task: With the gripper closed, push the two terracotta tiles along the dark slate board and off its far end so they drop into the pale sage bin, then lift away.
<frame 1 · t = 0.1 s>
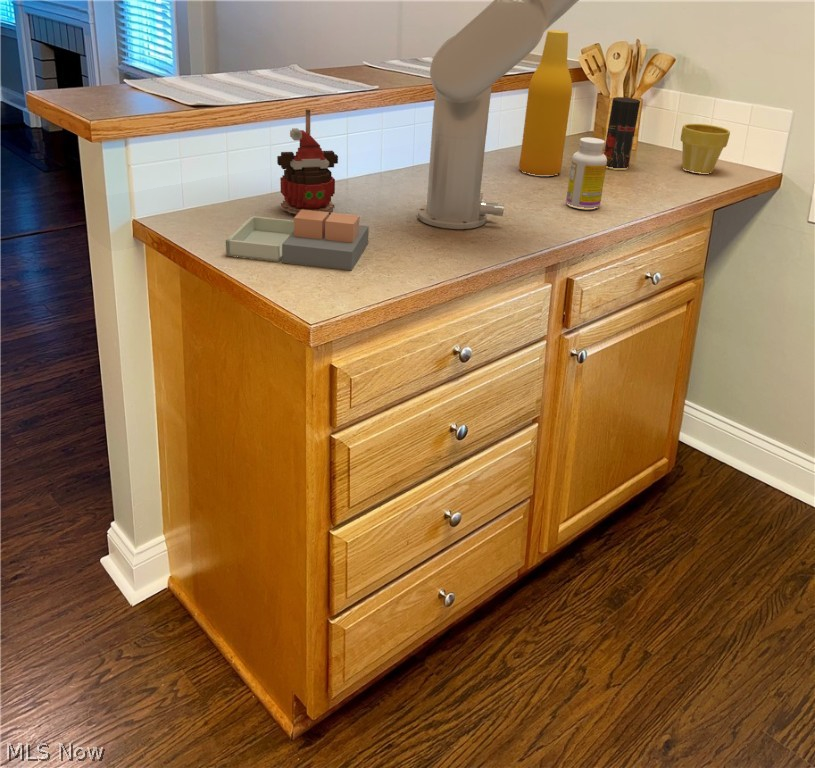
deodorant: (614, 168, 200), on the counter
supplement bottle: (582, 207, 171), on the counter
tile front: (311, 233, 139), point 3 cm above the counter, touching slate board
tile rear: (342, 236, 138), point 3 cm above the counter, touching slate board
plant pot: (697, 171, 201), on the counter
slate board: (326, 252, 140), on the counter
beer bottle: (539, 172, 192), on the counter
sage bin: (264, 245, 141), on the counter
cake: (307, 212, 159), on the counter
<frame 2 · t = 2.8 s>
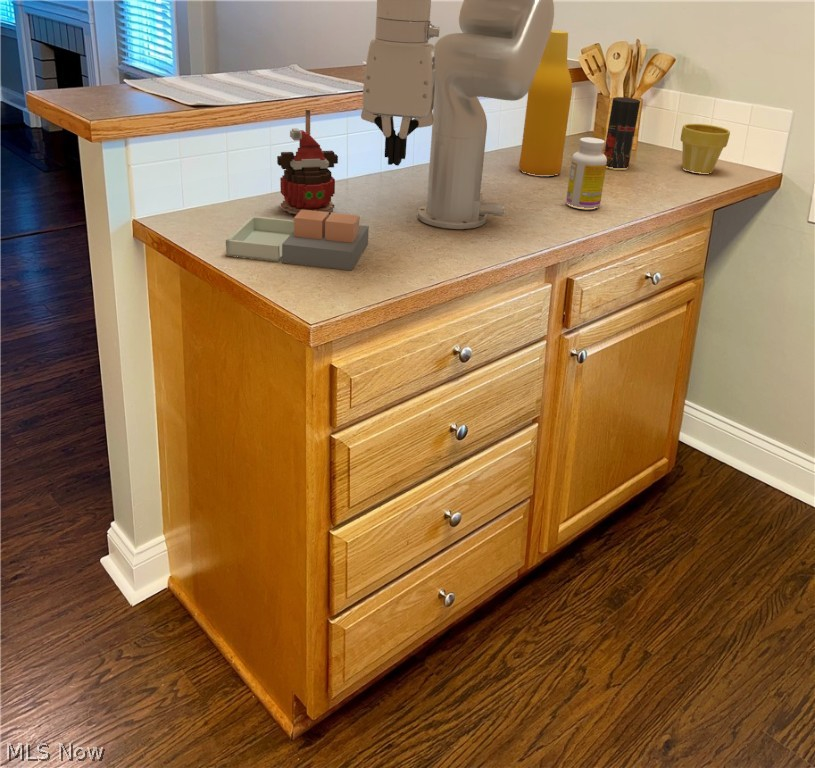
hand: (394, 162, 131), 16 cm above the counter, tool pointing down, fingers closed
nothing on the counter moved.
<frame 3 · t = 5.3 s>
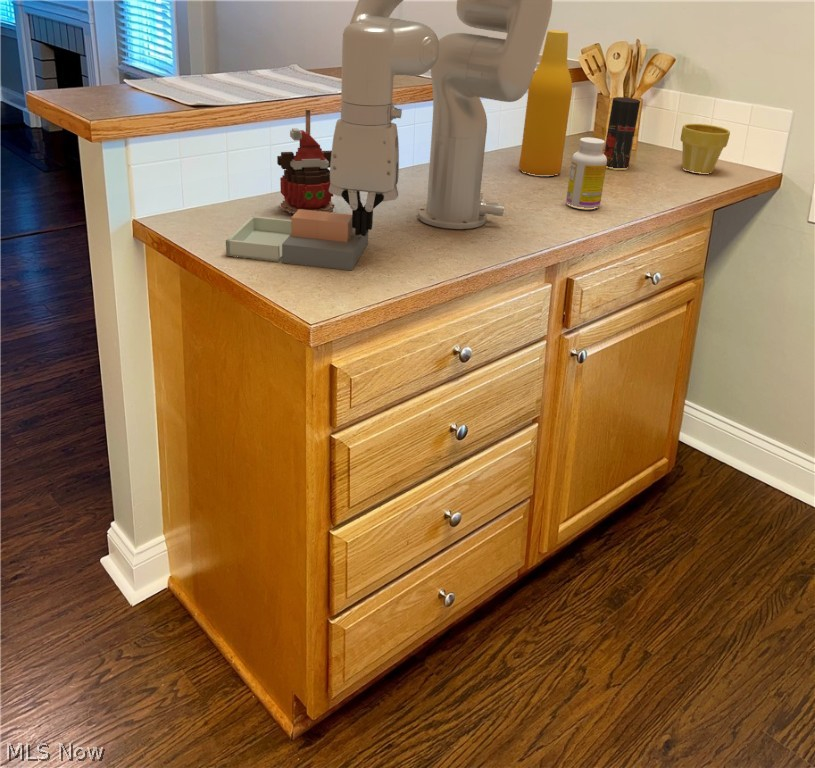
hand: (361, 232, 137), 4 cm above the counter, tool pointing down, fingers closed
tile front: (308, 232, 139), point 3 cm above the counter, touching slate board, tile rear
tile rear: (336, 236, 138), point 3 cm above the counter, touching gripper, tile front
everything else where it was.
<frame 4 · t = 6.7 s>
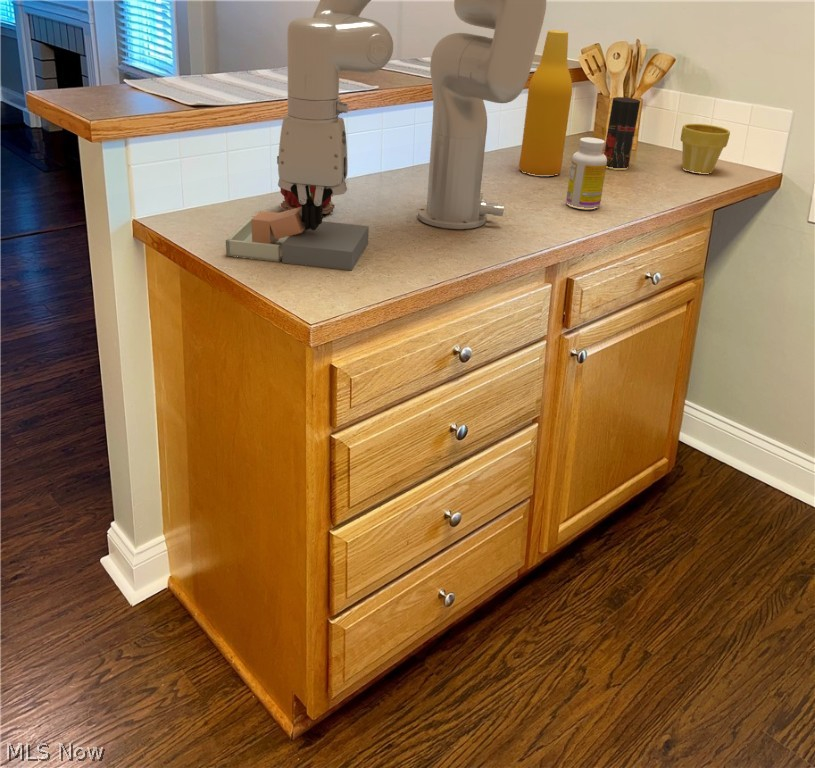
hand: (312, 227, 138), 4 cm above the counter, tool pointing down, fingers closed
tile front: (274, 230, 140), point 3 cm above the counter, tilted 91°, touching sage bin, tile rear
tile rear: (292, 231, 139), point 3 cm above the counter, tilted 21°, touching gripper, tile front
everything else where it was.
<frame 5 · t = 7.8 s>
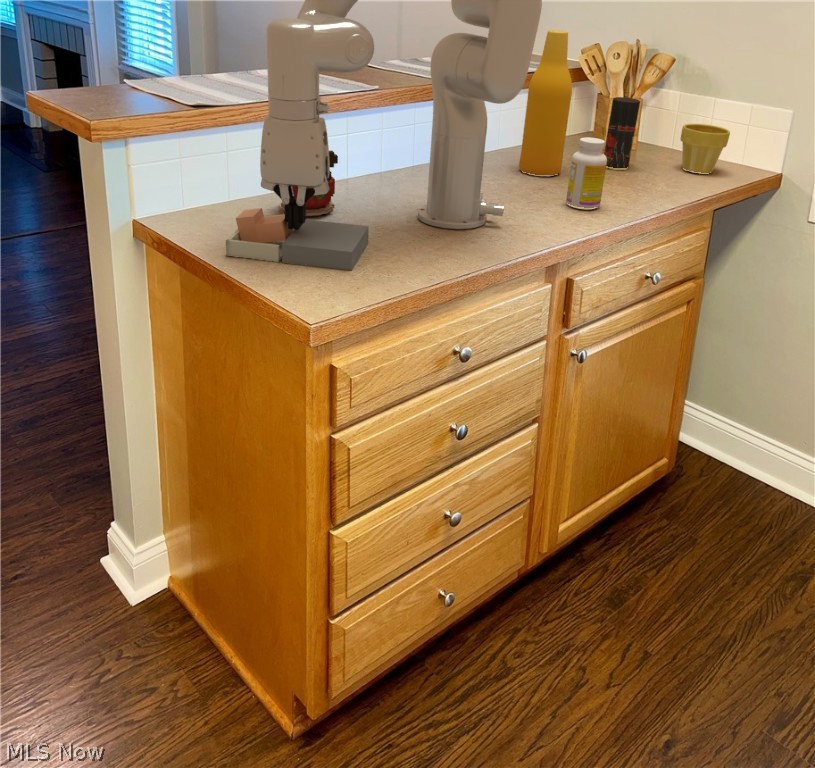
hand: (295, 226, 139), 4 cm above the counter, tool pointing down, fingers closed
tile front: (260, 225, 140), point 3 cm above the counter, tilted 102°, touching sage bin, tile rear
tile rear: (276, 237, 140), point 2 cm above the counter, tilted 12°, touching gripper, tile front
everything else where it was.
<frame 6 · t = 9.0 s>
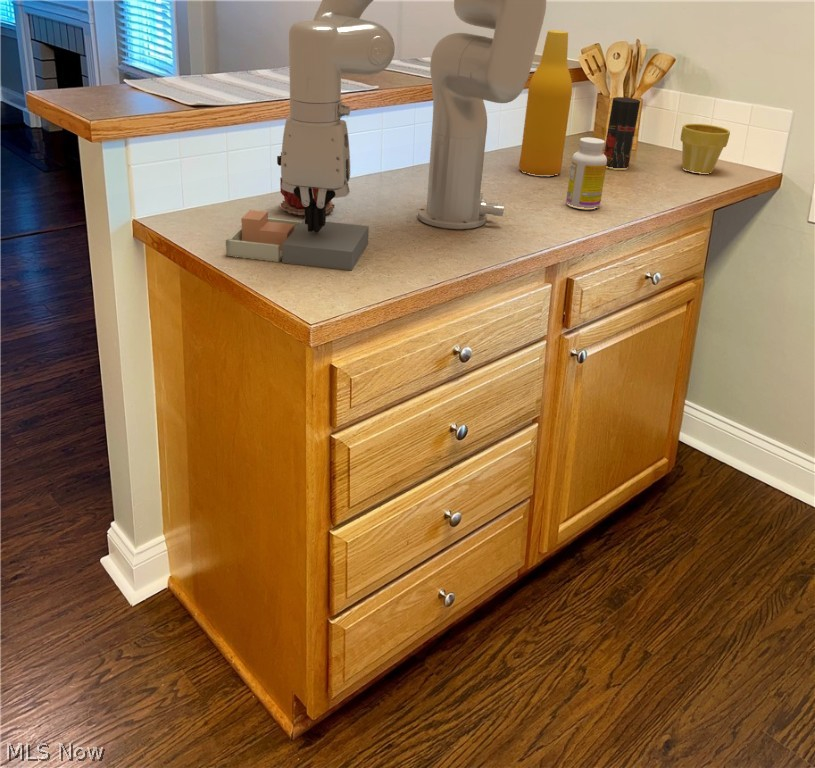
hand: (315, 229, 139), 4 cm above the counter, tool pointing down, fingers closed
tile front: (264, 229, 140), point 3 cm above the counter, tilted 90°, touching sage bin
tile rear: (277, 245, 141), resting on sage bin
everything else where it was.
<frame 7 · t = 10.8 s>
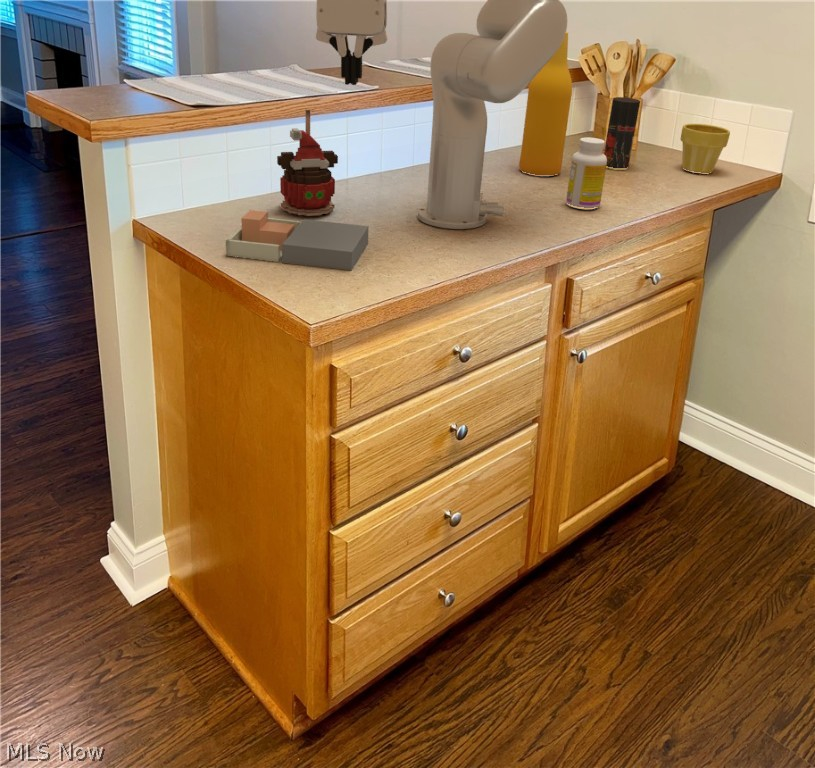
hand: (351, 82, 134), 25 cm above the counter, tool pointing down, fingers closed
nothing on the counter moved.
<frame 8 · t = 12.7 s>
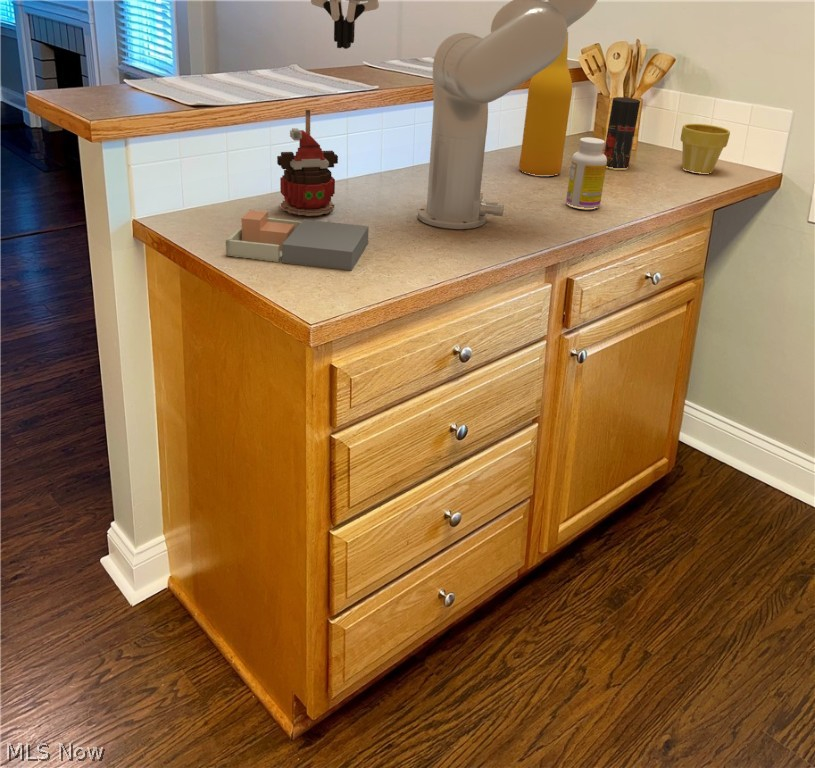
hand: (343, 47, 140), 29 cm above the counter, tool pointing down, fingers closed
nothing on the counter moved.
at the end: tile rear inside the target area (2.4 cm from its centre), resting on sage bin; tile front inside the target area (0.5 cm from its centre), point 2.6 cm above the counter; tile rear resting on sage bin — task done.
